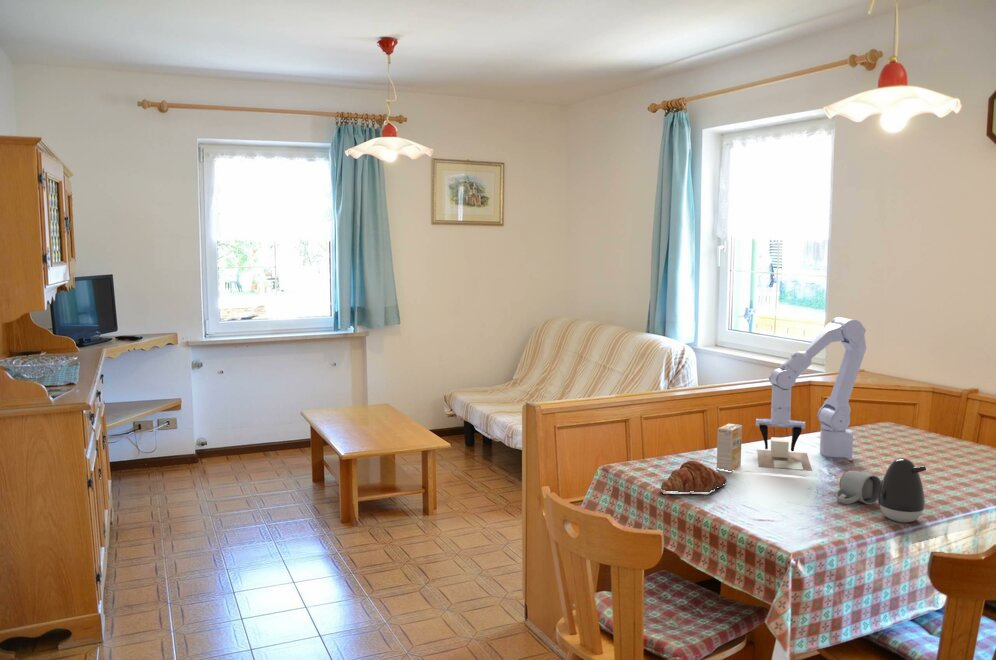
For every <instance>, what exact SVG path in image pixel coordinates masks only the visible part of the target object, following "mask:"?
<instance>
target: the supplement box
mask: <svg viewBox="0 0 996 660" xmlns="http://www.w3.org/2000/svg"><path fill="white" fill-rule="evenodd" d="M742 435H743V425H741V424H735V423H726V424H724V425H722V426H720V427H718V428H717V438H716V439H717V442H716V445H717V446H716V469H717V468H719V469H724V470H728V471H732V470H735V469H736V468H738V467H739V466H741V464H742V438H743V437H742Z"/></svg>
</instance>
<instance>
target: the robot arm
mask: <svg viewBox="0 0 996 660" xmlns="http://www.w3.org/2000/svg"><path fill="white" fill-rule="evenodd" d="M865 333H866V328H865V327H864V326H863V324H862V323H861V321H859V320H857V319H851V318H847V317H846V318H845V317H843V316H837V317H834V318H833V319H832V320H831V321H830V322H829V323H827V324H826V325H825V327H824V328H823V330H822V331H821V332H820V333H819V334H818V335H817V336H816V337H814V339H813V340H812V341H811V342H810V344H808V346H806V348H805V349H804V350H803V351H801V350H799V351H796V352H792V353H791V354H790V356H791V357H790V358H789V359H787V360H786V361H785V362H784V363H782V364H780V365H779V367H780V368H775V369H773V370H772V372H771V374H770V375H769V376H768V380H769V382H770V384H771V401H770V402H771V403H770V404H771V405H770V409H771V410H770V411H771V412H770V418H756V419H755V426H756V427H759V431H760V432H761V436H762V439H763V443H764V448H765V449H764V450H768V449H769V447H768V445H769V444H768V443H769V442H768V439H769V436H768V434H769V428H768V427H772V428H773V427H774V428H777V427H778V428H786V429H787V428H791V443H790V452H795V446H796V443H797V441H798V439H799V437H800V435H802V431H803V430H806V421H801V420H799V421H798V420H791V412H792V411H791V409H792V407H791V406H792V405H791V404H792V387H794V386H795V384H796V381H797V379H798V378H799V376H801V375H802V374H803V373H804V372H805V371H806V370H807V369H808V368H809V367H810V366H811V365H812V360H813V358H815V356H817V355H818V354H819V353H821V351H823V350H824V349H825V348H827V346H829V345H830V344H831V343H834V342H835V343H836V342H841V344H842V345H843V347H844V348H845V351H844V354H843V357H842V360H841V363H840V366H839V369H838V372H837V376H836V378H835V381H834V384H833V388H832V390H831V394H830V396H829V397H828V398H826V399H825V400H824V402H823V405H822V406H821V407H820V408H819V409H818V412H817V419H818V421H819V423H820V435H819V436H820V437H819V438H820V439H819V442H820V443H819V454H820V455H821V456H824V457H829V458H846V459H847V461H853V453H854V452H853V451H854V450H853V448H854V447H853V446H854V445H853V444H854V443H853V442H854V437H853V436H854V435H853V430H851V429H847V428H848V427H849V426H850V425H851V424H850V423H851V417H850V416H851V411H852V409H851V407H850V403H849V401H850V398H851V396H852V392H853V390H854V386H855V383H856V381H857V377H858V374H859V371H860V368H861V365H862V361H863V359H864V356H865V353H866V349H867V343H866V337H865Z"/></svg>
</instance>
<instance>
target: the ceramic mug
mask: <svg viewBox="0 0 996 660" xmlns="http://www.w3.org/2000/svg"><path fill="white" fill-rule="evenodd" d="M881 483H882V481H881V479H880V477H878V475H875V474H871V473H866V472H862V471H857V470H848V471H846V472H844V473H843V474H842V475H841V477H840V480H839V489H838V490H837V491H836V493H835V498H836V500H837V502H838V503H840V502H841V503H840V504H842V503H844V505H849V504H854V503H856V502H860V503H862V504H865V505H874V504H876V502H877V503H878V497H879V491H880V487H881ZM842 495H844V496H846V497H847V498H841V496H842Z"/></svg>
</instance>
